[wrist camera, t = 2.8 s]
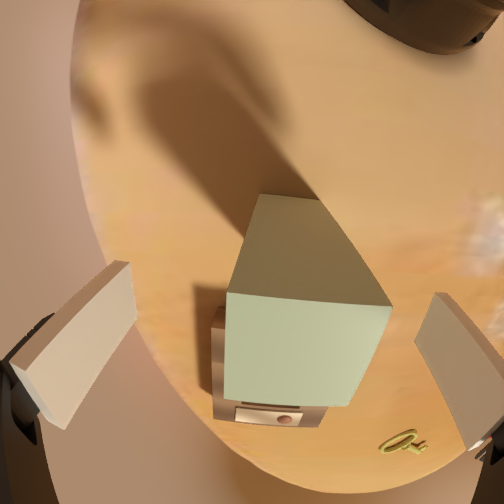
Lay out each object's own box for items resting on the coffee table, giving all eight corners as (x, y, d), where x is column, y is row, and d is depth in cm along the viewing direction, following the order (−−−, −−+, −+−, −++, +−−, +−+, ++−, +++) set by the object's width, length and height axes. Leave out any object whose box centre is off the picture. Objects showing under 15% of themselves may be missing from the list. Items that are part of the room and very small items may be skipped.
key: (417, 447, 35) (419, 455, 33) (373, 447, 34) (375, 457, 32) (442, 427, 32) (445, 435, 30) (400, 427, 31) (403, 437, 29)
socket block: (218, 307, 24) (210, 330, 21) (350, 319, 23) (358, 342, 20) (217, 399, 29) (212, 421, 26) (316, 408, 29) (317, 429, 25)
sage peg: (259, 193, 20) (226, 292, 7) (320, 200, 19) (393, 306, 7) (254, 250, 21) (223, 398, 9) (311, 256, 21) (347, 406, 8)
